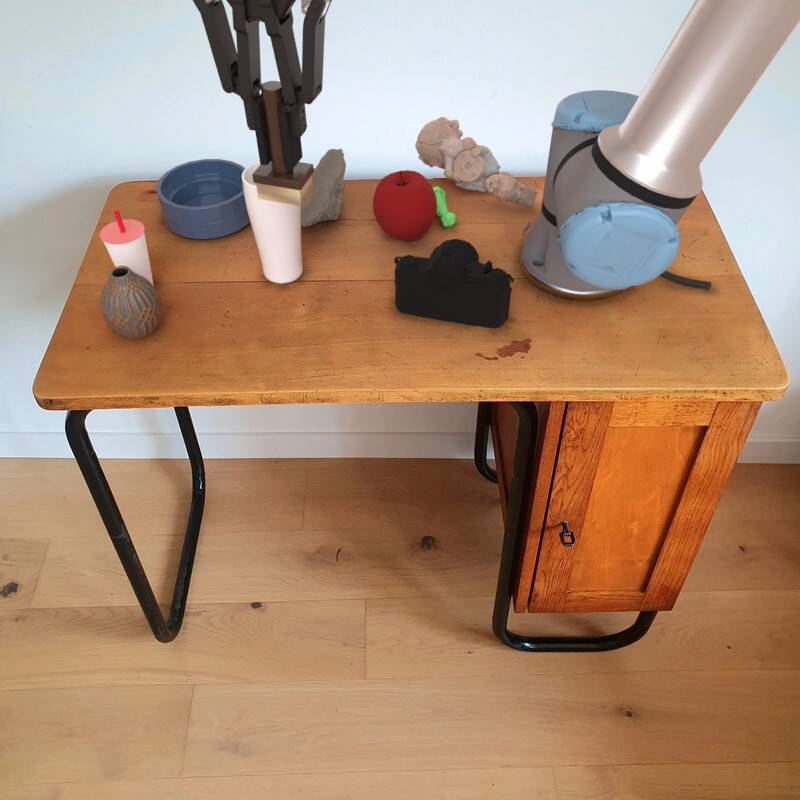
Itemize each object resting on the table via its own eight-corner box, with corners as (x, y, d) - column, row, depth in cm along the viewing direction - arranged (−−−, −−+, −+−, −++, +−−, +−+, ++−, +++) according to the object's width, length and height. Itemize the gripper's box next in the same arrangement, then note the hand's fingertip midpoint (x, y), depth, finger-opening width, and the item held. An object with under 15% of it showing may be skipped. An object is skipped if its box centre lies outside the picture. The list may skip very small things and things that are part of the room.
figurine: (464, 119, 122) (549, 196, 114) (433, 164, 125) (514, 241, 118) (433, 105, 114) (522, 186, 107) (402, 153, 118) (486, 235, 111)
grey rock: (350, 216, 119) (295, 181, 119) (377, 160, 113) (318, 123, 112) (310, 255, 109) (250, 217, 109) (338, 196, 102) (273, 154, 102)
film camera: (517, 287, 102) (525, 229, 95) (504, 334, 95) (511, 276, 89) (406, 268, 105) (406, 211, 98) (386, 313, 98) (384, 255, 92)
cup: (152, 303, 100) (127, 224, 91) (113, 299, 101) (84, 220, 92) (167, 277, 104) (144, 199, 95) (129, 274, 104) (103, 196, 95)
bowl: (271, 199, 116) (266, 166, 112) (231, 249, 108) (224, 215, 104) (192, 185, 119) (185, 153, 115) (148, 233, 111) (138, 199, 107)
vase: (99, 329, 97) (77, 273, 90) (145, 303, 100) (127, 246, 94) (132, 354, 93) (111, 298, 87) (178, 326, 97) (162, 269, 90)
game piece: (413, 209, 112) (435, 236, 110) (426, 185, 110) (449, 211, 107) (435, 211, 115) (456, 237, 112) (448, 187, 113) (470, 213, 110)
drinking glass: (300, 292, 101) (287, 191, 90) (251, 285, 102) (232, 185, 91) (314, 261, 106) (304, 161, 95) (267, 255, 107) (251, 156, 96)
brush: (315, 188, 85) (305, 80, 76) (302, 207, 82) (290, 97, 73) (270, 181, 86) (254, 73, 77) (255, 199, 83) (238, 90, 74)
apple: (447, 241, 108) (450, 177, 101) (388, 257, 106) (386, 192, 99) (421, 207, 114) (422, 145, 107) (364, 221, 112) (361, 158, 105)
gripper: (142, -94, 63) (199, 167, 80) (317, -78, 60) (337, 190, 77) (186, -118, 68) (231, 133, 85) (349, -105, 65) (362, 153, 82)
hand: (281, 160), depth 81 cm, fingers closed on brush, 2 cm apart
